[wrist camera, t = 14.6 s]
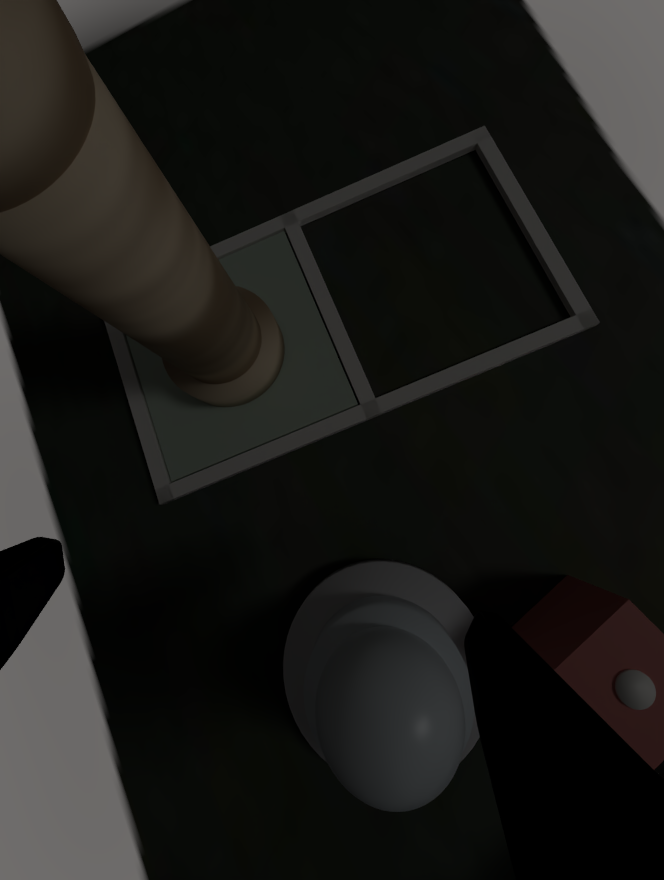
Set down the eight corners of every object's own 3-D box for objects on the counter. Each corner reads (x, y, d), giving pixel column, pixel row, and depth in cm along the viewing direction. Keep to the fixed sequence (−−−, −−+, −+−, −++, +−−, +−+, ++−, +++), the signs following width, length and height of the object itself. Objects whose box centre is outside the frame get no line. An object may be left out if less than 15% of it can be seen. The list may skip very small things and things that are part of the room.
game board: (594, 326, 18) (599, 322, 18) (163, 504, 19) (159, 504, 19) (482, 132, 20) (484, 125, 20) (101, 300, 21) (96, 296, 21)
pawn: (307, 354, 19) (59, -204, 4) (221, 430, 19) (-399, 178, 4) (237, 278, 20) (-187, -409, 5) (154, 350, 20) (-553, -115, 5)
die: (639, 648, 16) (731, 700, 12) (572, 711, 16) (642, 786, 12) (567, 574, 17) (630, 600, 13) (503, 635, 16) (546, 680, 12)
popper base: (521, 728, 16) (531, 744, 15) (329, 800, 16) (326, 819, 15) (434, 530, 17) (438, 532, 16) (261, 598, 18) (255, 605, 17)
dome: (488, 725, 15) (550, 845, 10) (343, 779, 15) (330, 924, 10) (424, 572, 16) (449, 608, 11) (290, 625, 16) (253, 683, 11)
